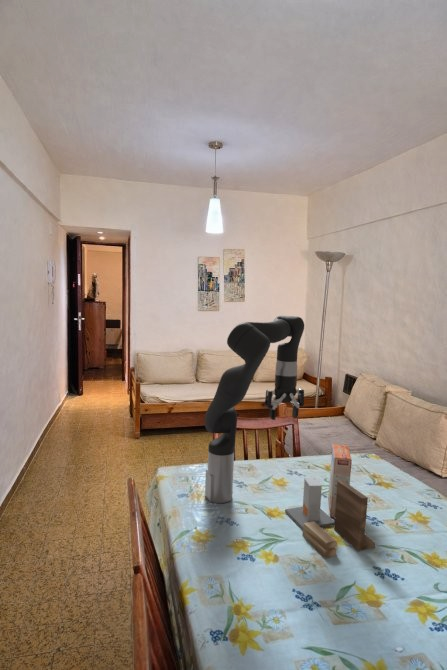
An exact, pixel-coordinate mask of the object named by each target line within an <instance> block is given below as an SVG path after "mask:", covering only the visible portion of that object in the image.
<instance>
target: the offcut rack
mask: <svg viewBox="0 0 447 670" xmlns="http://www.w3.org/2000/svg"><path fill="white" fill-rule="evenodd" d="M368 499H369V498H368V496H366V495H365V494H363V493H362V492H361V491H359V490H357V489H356V488H355V487H354V486H352V485H351V484H350V485H349V484H348V483H346V482H345V481H343V480H340V481H337V494H336V509H335V517H334V521H335V524H334V526H333V529H334V531H335V532H337V534H338V535H340V536H341V538H343V539H344V540H345V541H346V542H347V543H349V545H351V546H352V547H353V548H354V549H355V550H356V551H357V552H360V551H365V550H370V549H375V548H376V542H375V541H374V540H373V539H371V538H370V537H369V536H368V535H367V534H366V527H367V526H366V525H367V513H368V501H369V500H368ZM301 535H302V537H304V538H305V540H307V542H308V543H309V544H310V545H311V546H312V547H313V548H314V549H315V550H316V551H317V552H318V553H319V554H320V555H321V556H322V558H324V559H325V558H331V557H335V556H337V553H338V548H336V547H337V539H336V538H335V537H333V536H332V535H331V534H329V533H328V532H327V531H326V530H325V529H324V528H321V527H320V526H319V525H318V524H316V523H315V522H314V521H312V522H307V523H304V528H303V530H302V534H301Z"/></svg>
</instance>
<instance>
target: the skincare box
mask: <svg viewBox="0 0 447 670" xmlns="http://www.w3.org/2000/svg"><path fill="white" fill-rule="evenodd" d="M322 488H323V487H322V484H321V483H320V481H319V480H318V479H317V477H304V481H303V500H302V501H303V502H302V507H303V513H304V515H305V517H306V519H307V520H308V521H319V520H320V509H321V506H322V505H321V504H322Z"/></svg>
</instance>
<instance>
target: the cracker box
mask: <svg viewBox="0 0 447 670" xmlns="http://www.w3.org/2000/svg"><path fill="white" fill-rule="evenodd" d="M331 445H332V446H331V456H330V458H331V459H330V472H329V473H330V474H329V483H328V484H329V486H328V497H327V499H328V509H329V517H331V518H335V509H336V494H337V481H340V480H343V481H345V482H346V483H348V484H349V485H350V486H351V473H352V460H353V459H352V455H351V452H350V448H349V445H347V444H346V445H345V444H337V443H336V444H335V443H332V444H331Z"/></svg>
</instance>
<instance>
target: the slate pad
mask: <svg viewBox="0 0 447 670" xmlns="http://www.w3.org/2000/svg"><path fill="white" fill-rule="evenodd" d="M284 513H286V515H287V516H289V518H290V519H291V520H292V521H293V522H294V524H295V525H297V526H298V527H299V528H300V529H301V530H302V531H303V528H304V523H307V522H312V521H308V520H307V519H306V517H305V515H304V513H303V506H298V507H293V508H285V510H284ZM314 522H315V523H316V524H318V525H319V526H320V527H321V528H322V529H324V528H329V527H332V526H333V527H334V524H335V519H333V517H330V515H329V514H327V512H325V511H324V510H322V509H321V508H320V520H319V521H314Z"/></svg>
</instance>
